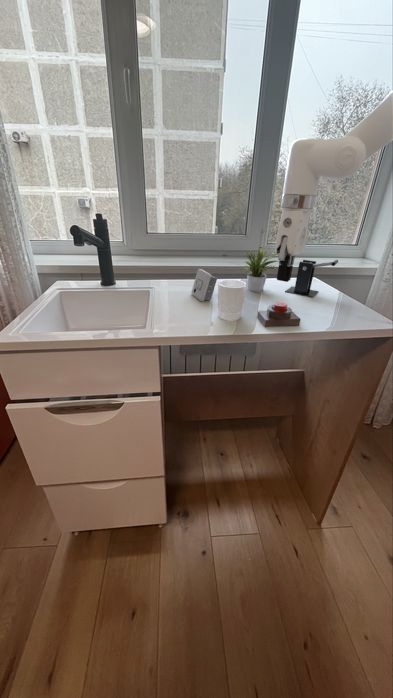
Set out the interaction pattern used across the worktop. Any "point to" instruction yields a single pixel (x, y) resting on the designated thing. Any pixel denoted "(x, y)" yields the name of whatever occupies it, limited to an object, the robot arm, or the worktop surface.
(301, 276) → the black upright stand
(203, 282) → the electrical switch
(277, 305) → the button
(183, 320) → the worktop surface
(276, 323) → the button block
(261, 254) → the house plant
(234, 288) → the white cup
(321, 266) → the grey lever
